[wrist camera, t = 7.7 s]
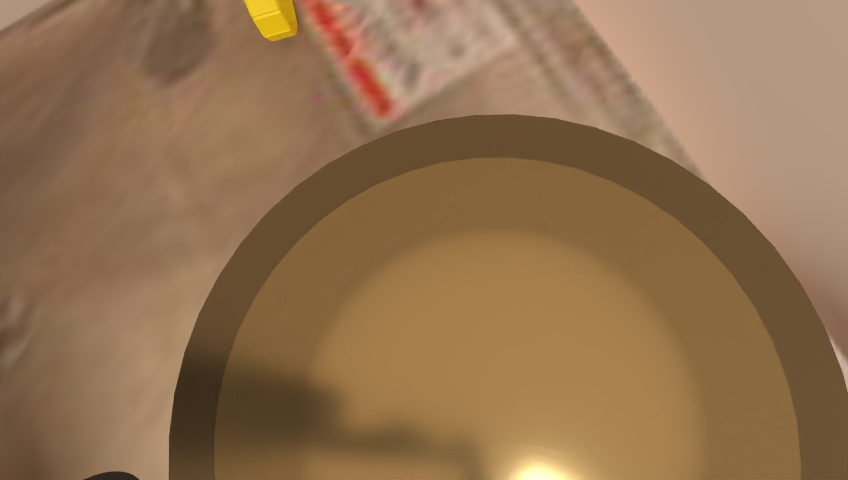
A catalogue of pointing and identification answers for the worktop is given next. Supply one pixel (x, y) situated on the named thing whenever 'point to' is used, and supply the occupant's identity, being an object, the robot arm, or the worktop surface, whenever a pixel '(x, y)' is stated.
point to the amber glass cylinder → (507, 324)
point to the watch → (273, 18)
